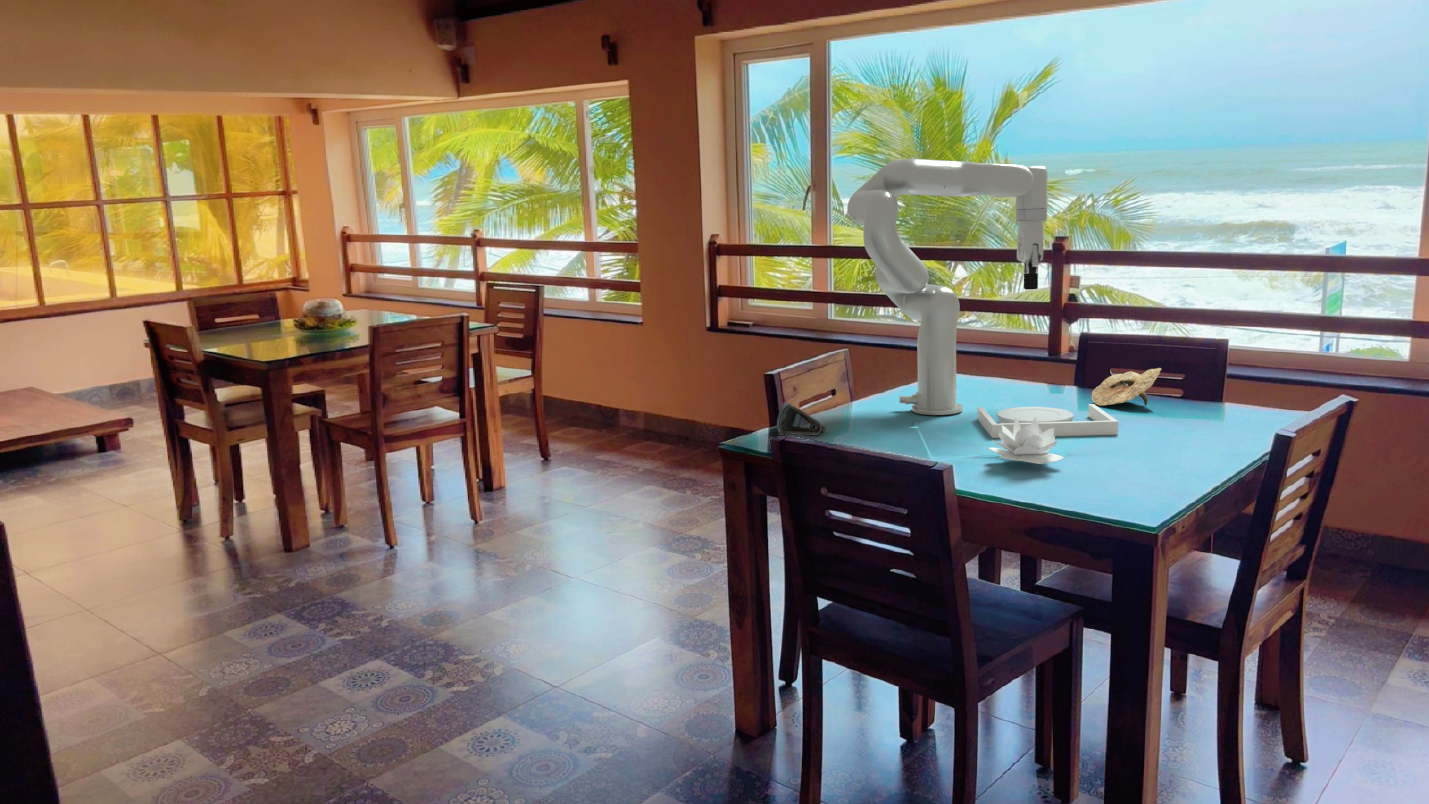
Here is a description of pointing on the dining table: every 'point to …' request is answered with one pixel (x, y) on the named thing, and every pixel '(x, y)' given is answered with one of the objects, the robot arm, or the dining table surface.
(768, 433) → the dining table surface
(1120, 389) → the beige piece
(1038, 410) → the lid
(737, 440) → the dining table surface
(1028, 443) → the lotus flower
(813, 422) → the dark rounded triangle
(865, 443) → the dining table surface
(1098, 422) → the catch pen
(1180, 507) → the dining table surface
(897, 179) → the robot arm
